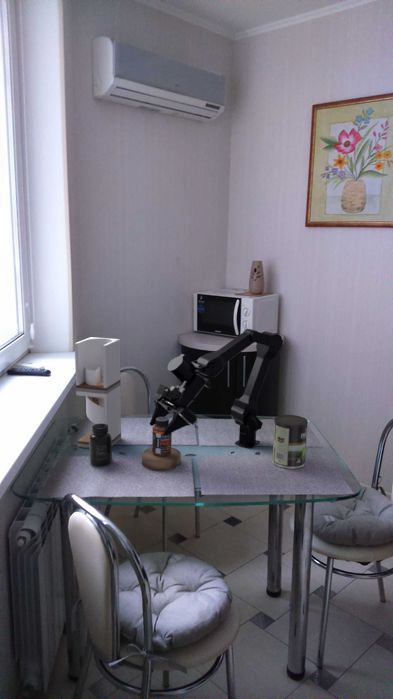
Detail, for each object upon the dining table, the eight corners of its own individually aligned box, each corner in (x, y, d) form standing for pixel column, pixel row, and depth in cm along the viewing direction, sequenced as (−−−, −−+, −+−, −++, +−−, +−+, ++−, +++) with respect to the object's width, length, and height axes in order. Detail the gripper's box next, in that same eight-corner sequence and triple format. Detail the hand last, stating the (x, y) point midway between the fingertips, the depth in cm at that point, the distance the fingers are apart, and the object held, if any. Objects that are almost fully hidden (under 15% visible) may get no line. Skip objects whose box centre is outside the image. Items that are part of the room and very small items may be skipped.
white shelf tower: (93, 434, 192) (90, 337, 185) (121, 438, 190) (120, 339, 182) (77, 446, 182) (74, 343, 174) (107, 450, 179) (105, 345, 171)
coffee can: (307, 458, 175) (309, 416, 172) (302, 471, 166) (305, 427, 163) (275, 453, 178) (277, 412, 176) (269, 466, 169) (271, 422, 166)
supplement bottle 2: (160, 459, 165) (161, 423, 163) (148, 453, 169) (148, 418, 167) (175, 453, 169) (175, 419, 167) (162, 448, 174) (162, 414, 171)
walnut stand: (157, 452, 178) (157, 443, 178) (188, 460, 172) (188, 452, 171) (133, 464, 168) (133, 455, 168) (164, 474, 162) (164, 464, 161)
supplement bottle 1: (116, 460, 171) (115, 423, 169) (105, 468, 165) (105, 431, 162) (96, 456, 174) (95, 420, 171) (85, 465, 167) (84, 428, 165)
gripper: (159, 368, 174) (127, 406, 171) (188, 381, 158) (154, 424, 155) (180, 388, 180) (150, 426, 176) (210, 404, 164) (178, 445, 161)
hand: (157, 429), depth 167 cm, fingers open, 9 cm apart
